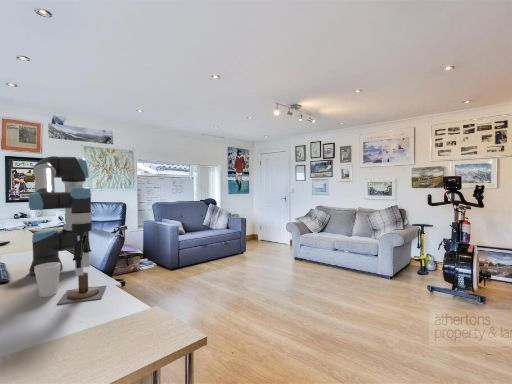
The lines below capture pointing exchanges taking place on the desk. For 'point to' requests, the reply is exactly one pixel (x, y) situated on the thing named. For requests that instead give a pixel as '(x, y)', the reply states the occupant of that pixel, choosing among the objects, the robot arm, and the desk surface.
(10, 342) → the desk surface
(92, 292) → the lid
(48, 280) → the foam cup
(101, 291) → the mat
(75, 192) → the robot arm
